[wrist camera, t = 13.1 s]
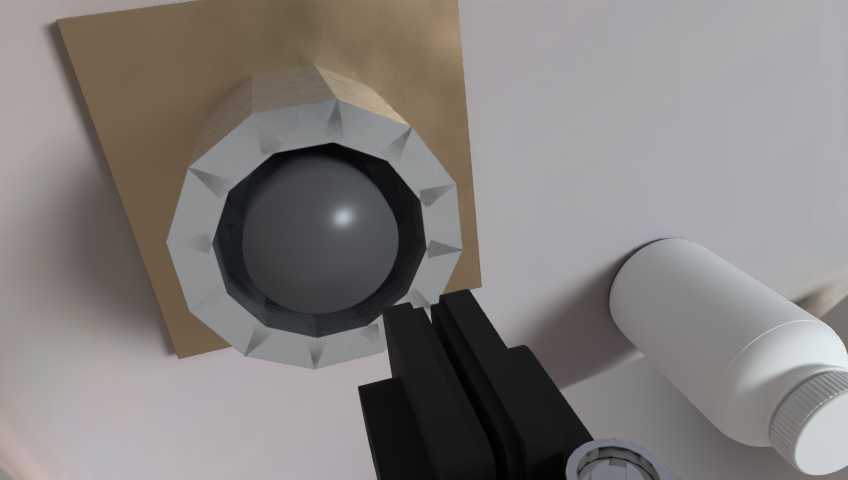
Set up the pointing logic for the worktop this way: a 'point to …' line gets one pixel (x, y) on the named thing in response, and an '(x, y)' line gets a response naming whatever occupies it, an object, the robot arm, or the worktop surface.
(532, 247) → the worktop surface
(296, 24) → the ball socket mount
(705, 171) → the worktop surface
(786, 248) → the worktop surface
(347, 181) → the cap
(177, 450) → the worktop surface
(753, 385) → the pill bottle
